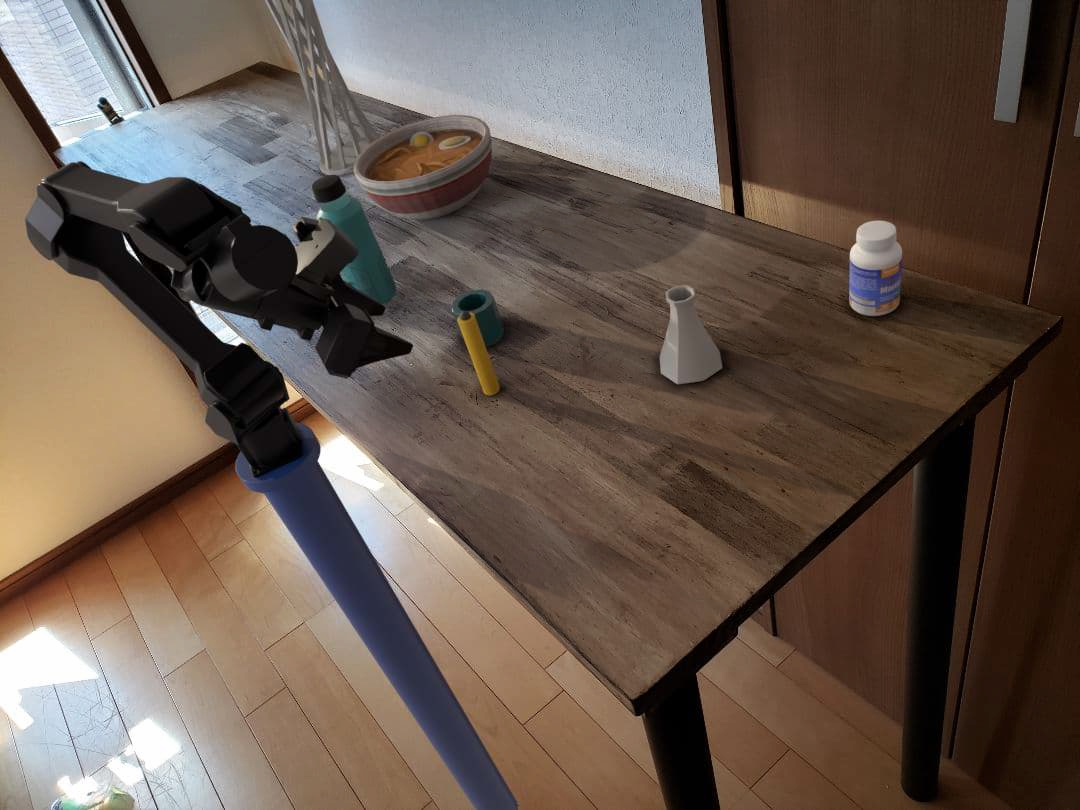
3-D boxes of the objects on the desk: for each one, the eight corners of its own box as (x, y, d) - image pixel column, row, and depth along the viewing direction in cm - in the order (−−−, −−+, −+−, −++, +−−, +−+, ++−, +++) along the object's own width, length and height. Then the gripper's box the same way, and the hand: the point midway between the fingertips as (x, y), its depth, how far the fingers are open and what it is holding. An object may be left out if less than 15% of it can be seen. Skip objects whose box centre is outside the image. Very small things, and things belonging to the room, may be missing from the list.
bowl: (465, 155, 153) (449, 103, 146) (530, 191, 136) (515, 134, 130) (354, 211, 146) (332, 158, 140) (409, 255, 130) (386, 198, 124)
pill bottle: (886, 322, 94) (890, 248, 87) (840, 310, 97) (841, 238, 91) (907, 295, 96) (912, 221, 90) (862, 285, 99) (863, 213, 93)
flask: (673, 393, 93) (661, 322, 87) (649, 357, 99) (636, 288, 92) (733, 371, 93) (726, 299, 87) (706, 336, 99) (698, 266, 92)
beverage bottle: (410, 293, 122) (359, 168, 109) (381, 321, 118) (325, 195, 105) (377, 287, 125) (324, 165, 112) (349, 314, 121) (290, 191, 108)
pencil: (487, 398, 100) (458, 319, 92) (481, 389, 102) (452, 311, 94) (502, 391, 100) (474, 312, 93) (496, 382, 102) (469, 304, 94)
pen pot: (472, 354, 107) (459, 320, 104) (458, 334, 111) (446, 300, 108) (509, 337, 108) (498, 303, 104) (495, 317, 112) (484, 284, 108)
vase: (393, 136, 167) (324, -53, 144) (377, 168, 157) (300, -30, 135) (331, 148, 170) (254, -36, 148) (311, 180, 161) (226, -12, 138)
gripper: (309, 251, 72) (461, 300, 81) (265, 182, 85) (398, 230, 95) (264, 362, 75) (414, 396, 85) (228, 278, 89) (361, 316, 98)
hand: (397, 329), depth 91 cm, fingers open, 9 cm apart
